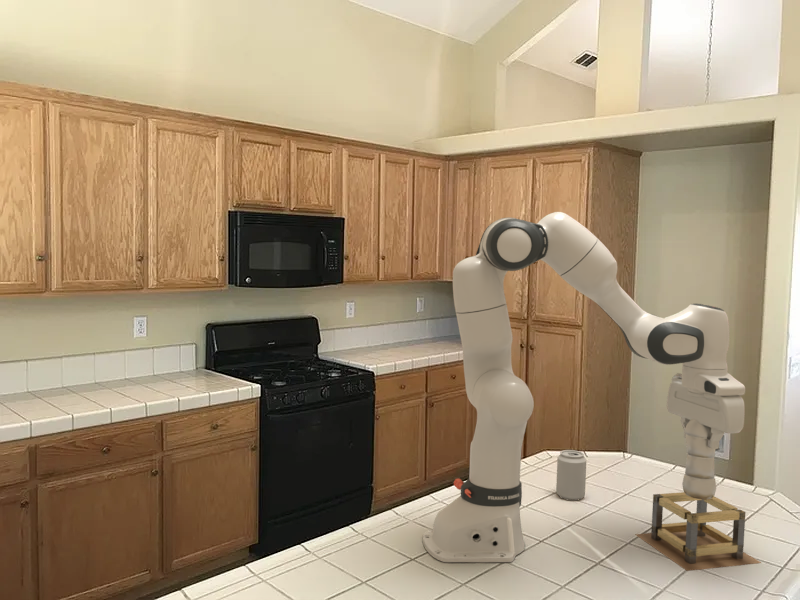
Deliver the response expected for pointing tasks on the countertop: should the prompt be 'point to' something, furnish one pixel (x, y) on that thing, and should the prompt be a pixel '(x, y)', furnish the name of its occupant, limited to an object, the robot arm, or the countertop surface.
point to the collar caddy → (698, 526)
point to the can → (571, 475)
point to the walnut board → (701, 561)
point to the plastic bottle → (699, 462)
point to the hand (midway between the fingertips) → (700, 443)
